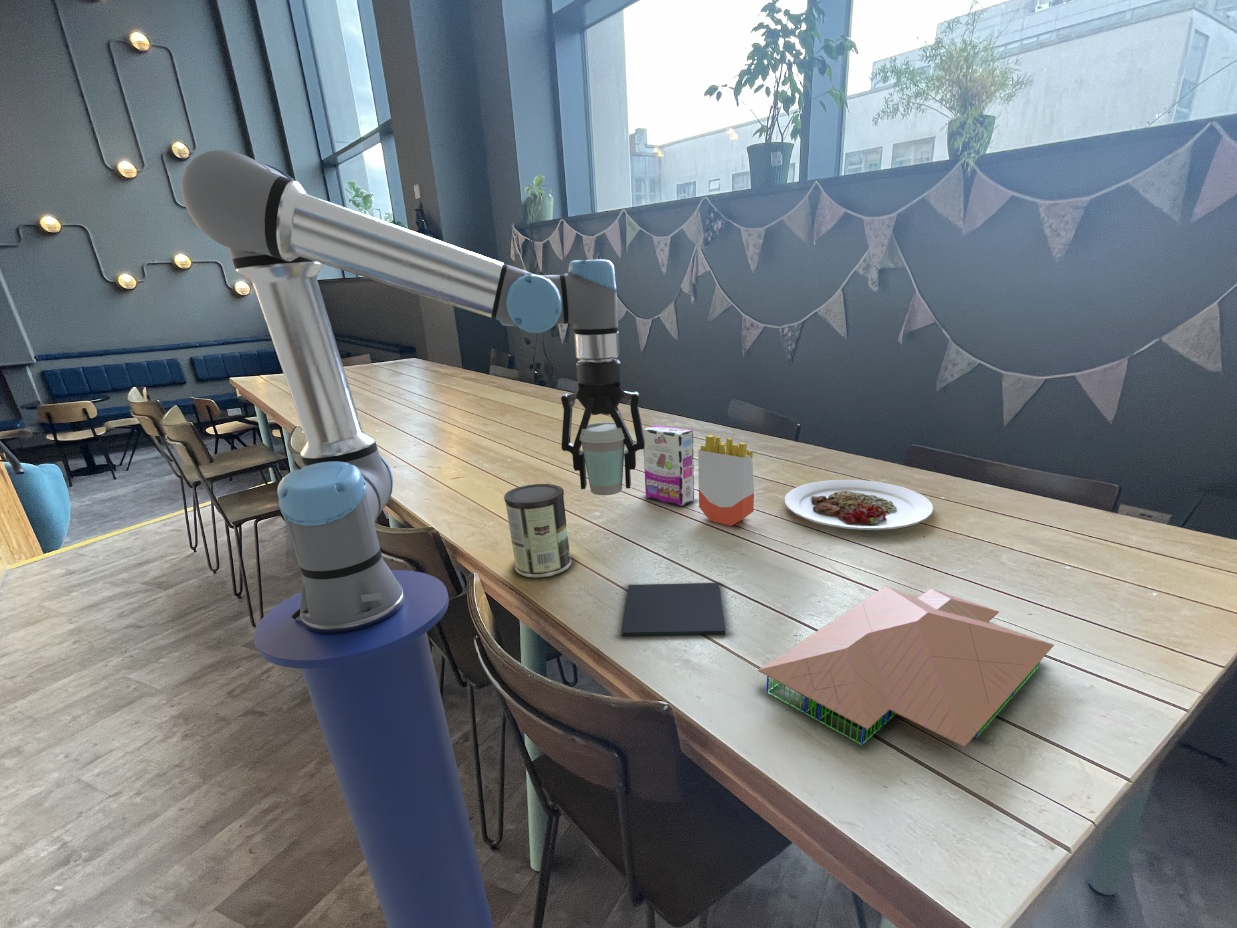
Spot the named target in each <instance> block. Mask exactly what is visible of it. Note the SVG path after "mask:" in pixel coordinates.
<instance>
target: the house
mask: <svg viewBox="0 0 1237 928" xmlns="http://www.w3.org/2000/svg"><path fill="white" fill-rule="evenodd" d="M999 613H1000V611H999V610H996V609H993V608H990V607H987V606H984V605H981V604H978V603H975V602H972V601H968V600H966V599H963V598H960V597H957V596H954V595H951V594H948V593H945V592H942V591H939V590H936V589H933V588H929V589H928V590H926V591H925V592H924V593H922V594H921V595H919V596H916V595H913V594H909V593H906V592H905V591H901V590H898V589H895V588H893V587H890V586H887V585H884V586H883V587H882V588H880V589H878V590H877V591H876V592H874V593H872V594H871V595H868V597H866V598H865V599H863V600H862V601H861V602H859V603H857V604H855V605H854V606H853V607H852V608H850V609H848V610H847V611H845V612H844V613H842V614H841V615H839V616H838V617H836V618H835V619H833V620H832V621H830V622H829V623H826V624H825V625H824V626H822V627H821V628H819V629H818V630H816V631H815V632H813V633H812V634H810V635H808V636H807V637H805V638H804V639H802V640H801V641H800V642H798V643H797V644H795V645H794V646H791V648H789V649H788V650H786V651H785V652H783V653H782V654H780V655H779V656H776V657H775V658H773V660H771V661H769V662H768V663H766V664H765V665H763V666H762V667H760V668H759V669H757V672H759V673H760V674H763V675H764V676H766V693H768V694H769V695H771V696H773V697H775V698H776V699H779V700H781V702H784V703H786V704H787V705H789V706H791V707H793V708H795V709H797V710H798V711H800V712H801V713H804V714H805V715H807V716H809V717H811V718H812V719H815V720H816V721H818V722H820V723H821V724H823V725H825V726H826V727H828V728H830V729H832V730H834V731H835V732H838V733H839V734H841V735H843V736H845V737H847V738H848V739H849V740H852V741H854V742H855V743H857V744H859V745H861V746H863V745H864V744H865V743H866V742H868V740H869V739H870V738H872V737H873V736H874V735H875V734H876V733H877V732H878V731H879V730H880V729H881V728H882V727H884V726H885V725H886V724H887V723H888V722H889V721H890V720H891V719H893V717H894V716H896V715H898V716H901V717H902V718H905V719H906V720H908V721H910V722H913V723H915V724H916V725H918V726H921V727H922V728H925V729H927V730H929V731H930V732H933V733H935V734H937V735H939V736H940V737H943V738H945V739H947V740H949V741H951V742H954V744H957V745H959V746H961V747H963V748H965V747H967V745H968V744H969V743H970V742H971V740H972V739H973V738H974V737H975V738H977V739H978V737H979V736H981V734H982V732H983V731H984V730H985V729H986V728H987V727H988V726H989V724H990V723H991V722H992V721H993V720H994V719H995V718H996V717H997V715H998V714H999V713H1000V712H1001V711H1002V710H1003V708H1005V706H1006V705H1007V704H1008V703H1009V702H1010V701H1011V699H1012V698H1013V697H1014V696H1015V695H1016V694H1017V692H1018V691H1019V690H1020V689H1021V688H1022V687H1023V686H1024V684H1025V683H1026V682H1027V681H1028V680H1029V679H1030V678H1031V676H1032V675H1033V674H1035V672H1036V671H1037V670H1038V669H1039V667H1040V665H1041V661H1042V660H1043V659H1044V658H1045V656H1046V655H1048V653H1049V652H1050V651H1051V650H1052V649H1053V648H1054V646H1055V644H1053V643H1050V642H1048V641H1045V640H1041V639H1039V638H1036V637H1033V636H1030V635H1028V634H1025V633H1022V632H1019V631H1016V630H1013V629H1010V628H1007V627H1004V626H1003V625H998V624H996V623H993V622H990V621H991V620H992V619H994V618H995V617H996V616H997V615H998V614H999ZM776 682H777V684H776ZM780 684H781V685H783V687H782V686H780ZM776 687H777V696H776V695H774V694H775V693H774V690H775V688H776ZM786 687H787V688H789V691H788V690H787V689H786ZM780 689H781V690H783V695H782V697H783V698H780ZM771 690H772V692H770V691H771ZM791 690H793V691H794V693H793V692H791ZM786 692H787V693H788V701H786V700H785V693H786ZM797 693H798V694H800V696H798V695H797ZM791 695H792V696H794V704H791ZM802 696H803V697H804V698H802ZM797 698H798V699H800V700H799V701H800V702H799V708H798V707H797V706H796V701H797V700H796V699H797ZM802 701H804V704H803V710H802ZM817 704H818V706H817ZM807 705H808V708H807ZM824 707H825V708H824ZM813 708H814V713H813ZM816 709H817V718H816ZM809 711H810V714H809V713H807V712H809ZM830 712H831V713H830ZM823 713H824V714H823ZM834 713H835V714H838V715H837V716H836V715H834ZM813 715H814V716H813ZM827 715H830V716H831V718H830V725H828V724H827ZM890 715H891V716H890ZM840 716H841V717H843V718H844V720H843V719H841V718H840ZM833 717H834V718H835V719H837V724H836V728H834V727H833ZM822 718H824V722H823V721H821V719H822ZM846 720H849V721H850V723H848V722H847V721H846ZM839 721H840V722H842V723H843V730H842V731H843V732H841V731H839ZM846 724H847V725H848V726H850V728H849V729H850V730H849V736H848V735H847V734H845V730H846V729H845V728H846ZM853 724H856V725H857V727H855V726H853ZM876 725H877V728H876ZM860 727H862V729H860ZM852 728H853V729H855V730H857V731H856V738H855V739H854V738H852V737H851V736H852ZM869 729H870V730H869ZM872 730H873V732H872ZM859 731H860V732H861V737H860V738H861V739H860V741H858V736H859ZM865 732H866V735H865ZM868 735H869V736H868ZM864 738H865V739H864Z"/></svg>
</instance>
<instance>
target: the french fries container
mask: <svg viewBox="0 0 1237 928" xmlns="http://www.w3.org/2000/svg"><path fill="white" fill-rule="evenodd" d="M721 438H722V437H721V436H718V435H717V436H716V435H714V434H708V435H705V444H701V445H700V448H699V449H698V455H697V456H698V460H697V461H698V508H699V510H700V511H701V512H702V513H703V514H704V516H705V517H706V518H707V520H708V521H710V522H713V523H718V524H721V525H725V526H730V527H732V526H734V525H736V524H738V523H739V522H741V521H742V520H744V519H745V518H747V517H749V515H751V514H752V513H753V512H754V511H755V510H754V509H755V508H754V507H755V487H754V486H755V485H754V484H755V483H754V463H753V461H754V460H753V454H754V451H753V450H747V446H748V444H747V442H743V441H741V442H739V443H734V444H733V442H734V441H733V440H734V439H733V438H732V437H728V438H726V441H725V442H724V441H721V440H722V439H721Z"/></svg>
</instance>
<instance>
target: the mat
mask: <svg viewBox="0 0 1237 928" xmlns="http://www.w3.org/2000/svg"><path fill="white" fill-rule="evenodd" d="M621 635H622V637H642V636H643V637H645V636H646V637H647V636H649V637H650V636H693V635H695V636H698V635H699V636H700V635H702V636H703V635H726V625H725V618H724V611H723V603H722V597H721V589H720V583H719V582H695V583H693V582H692V583H691V582H690V583H689V582H688V583H650V584H647V583H646V584H645V583H644V584H628V590H627V597H626V604H625V611H624V617H623V623H622V630H621Z"/></svg>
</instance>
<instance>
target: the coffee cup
mask: <svg viewBox="0 0 1237 928" xmlns="http://www.w3.org/2000/svg"><path fill="white" fill-rule="evenodd" d="M623 439H625V438H624V434H623V432H622V429H621V428H617V426H616V424H615V422H614V421H613V422H611V421H603V422H592V423H589V424H588V427H587V429H582V430H581V435H580V439H579V440H581V442H582V444H581V447H582V448H581V449H582V451H583V453H584V458H585V466H586V475H587V479H588V484H589V488H590V493H592V494H593V495H597V496H611V495H616V494H619V493H621V492H622V490H623V478H624V465H625V461H624V453H625V448H626V445H625V443H624V441H623Z"/></svg>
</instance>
